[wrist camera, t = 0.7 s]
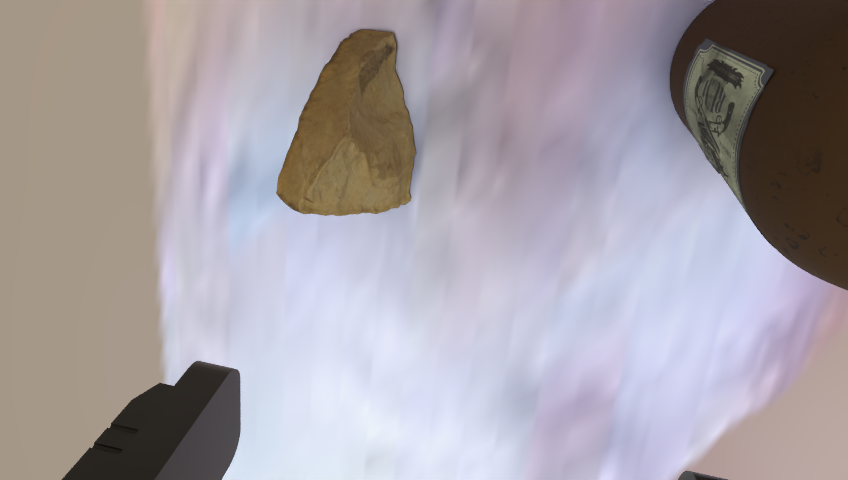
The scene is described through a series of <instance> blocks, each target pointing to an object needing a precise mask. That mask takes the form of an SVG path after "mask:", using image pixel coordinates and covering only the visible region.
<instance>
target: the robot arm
mask: <svg viewBox="0 0 848 480" xmlns="http://www.w3.org/2000/svg"><path fill="white" fill-rule="evenodd" d="M239 437H240V373H239V371H238V370H237V369H233V368H228V367H224V366H219V365H215V364H210V363H206V362H201V361H196V362H194V363H193V364H192V365H191V366H190V367H189V368H188V369H187V371H186V372H185V373H184V374H183V376H182V377H181V378H180V379H179V381H178V382H177V383H176V384H175V386H171V385H167V384H162V383H159V384H157V385H156V386H154V387H152V388H151V389H149V390H147V391H146V392H144V393H143V394H141V395H139V396H138V397H136V398H134V399H133V400H131V402H130V403H129V404H128V405H127V406H126V407H125V409H123V410H122V412H121V413H120V414H119V415H118V416H117V417H116V419H115V420H114V421H113V422H112V423H111V427H110V428H107V429H106V430H105V431H104V432H103V433H102V434H101V436H100V437H99V438H98V439H97V440H96V441H95V442H94V446H93V448H89V449H88V451H87V452H86V453H85V454H84V455H83V456H82V457H81V458H80V460H79V461H78V462H77V463H76V464H75V465H74V467H73V468H72V469H71V470H70V471H69V472H68V473H67V474H66V476H65V477H64V478H63V479H62V480H222V478H223V476H224V474H225V473H226V471H227V469H228V467H229V466H230V464H231V462H232V460H233V457H234V455H235V452H236V449H237V446H238V442H239ZM678 480H727V479H722V478H718V477H714V476H709V475H705V474H699V473H695V472H691V471H685V472H683V473H682V474H681V476H680V477H679V479H678Z"/></svg>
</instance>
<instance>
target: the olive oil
mask: <svg viewBox="0 0 848 480" xmlns="http://www.w3.org/2000/svg"><path fill="white" fill-rule="evenodd" d="M670 89H671V96H672V100H673V104H674V107H675V109H676V111H677V113H678V115H679V117H680V119H681V120H682V122H683V123H684V125H685V126H686V127H687V129H688V130H689V131H690V132H691V134H692V135H693V136H694V138H695V139H696V141H697V142H698V143H699V145H700V147H701V149H702V151H703V153H704V154H705V156H706V158H707V160H708V161H709V162H710V163H711V164H712V166H713V167H714V168H715V170H716V171H717V172H718V173H719V174H721V175H722V177H723V178H724V180H725V181H726V183H727V184H728V186H729V187H730V188H731V190H732V191H733V193H734V194H735V196H736V197H737V199H738V200H739V202H740V203H741V205H742V206H743V208H744V209H745V211H746V212H747V214H748V215H749V217H750V218H751V220H752V221H753V223H754V224H755V226H756V227H757V229H758V230H759V231H760V233H761V234H762V235H763V236H764V238H765V239H766V240H767V241H768V242H769V243H770V244H771V245H772V246H773V247H774V248H775V249H777V250H778V251H779V252H780V253H781V254H782V255H783V256H784V257H786V258H787V259H788V260H790V261H791V262H792V263H794V264H795V265H797V266H798V267H800V268H801V269H803V270H805V271H806V272H808V273H810V274H812V275H814V276H816V277H818V278H820V279H822V280H824V281H826V282H828V283H831V284H833V285H836V286H838V287H841V288H843V289H846V290H848V0H716V1H714V2H713V3H712V4H710V5H709V6H708V7H707V8H706V9H705V10H704V11H702V12H701V13H700V14H699V16H698V17H697V18H696V19H695V20H694V21H693V22H692V24H691V25H690V26H689V28H688V29H687V31H686V32H685V34H684V35H683V37H682V39H681V41H680V43H679V45H678V47H677V50H676V52H675V55H674V58H673V62H672V67H671V74H670Z"/></svg>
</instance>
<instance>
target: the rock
mask: <svg viewBox="0 0 848 480" xmlns="http://www.w3.org/2000/svg"><path fill="white" fill-rule="evenodd" d="M395 62H396V42H395V40H394V35H393V34H392V33H389V32H381V31H373V30H358V31H356V32H354V33H352V34H350V36H349V37H348V38H346V39H344V40H343V41H342V42H340V44H339V46H338V48H337V50H336V52H335V53H334V55H333V56H332V58H331V60H330V61H329V62H328V63H327V64H326V65H325V66H324V68H323V70H322V71H321V73H320V76H319V79H318V81H317V84H316V86H315V87H314V89H313V90H312V91H311V94H310V96H309V99H308V101H307V103H306V104H305V106H304V108H303V111H302V113H301V115H300V118H299V123H298V129H297V131H296V133H295V135H294V138H293V140H292V143H291V146H290V148H289V150H288V153H287V155H286V158H285V161H284V164H283V167H282V170H281V172H280V174H279V177H278V183H277V192H276V194H277V195H278V196H279V197H280V199H281V200H282V201H283V202H284V203H285V204H287V205H288V206H289V207H290V208H292V209H293V210H295V211H298V212H300V213H303V214H311V213H312V214H320V215H325V216H327V215H336V216H342V215H349V214H360V213H374V214H378V213H381V212H385V211H388V210H389V209H391V208H398V207H400V205H405V204H407V203H408V202H409V201H410V200H411V196H410V193H409V187H410V182H411V172H412V169H413V165H414V155H416V150H415V147H414V142H413V133H412V132H413V129H412V124H411V123H410V119H409V114H408V110H407V109H406V108H405V104H404V100H403V90H402V87H401V84H400V81H399V79H398V77H397V74H396V72H395Z"/></svg>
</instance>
